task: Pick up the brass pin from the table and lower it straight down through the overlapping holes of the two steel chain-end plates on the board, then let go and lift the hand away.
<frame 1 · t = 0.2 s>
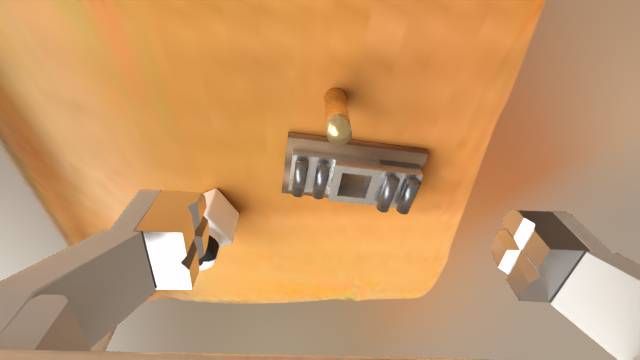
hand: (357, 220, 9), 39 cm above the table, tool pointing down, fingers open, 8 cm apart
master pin: (334, 97, 49), on the table
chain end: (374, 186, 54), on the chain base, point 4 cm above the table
chain base: (351, 168, 57), on the table
medicine bottle: (212, 206, 62), on the table
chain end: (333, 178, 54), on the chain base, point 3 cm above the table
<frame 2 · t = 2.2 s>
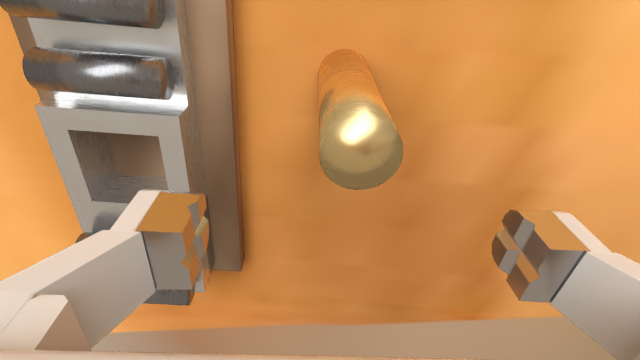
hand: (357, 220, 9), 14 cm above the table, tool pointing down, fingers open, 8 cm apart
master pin: (343, 75, 21), on the table
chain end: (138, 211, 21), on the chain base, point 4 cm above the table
chain base: (155, 135, 23), on the table
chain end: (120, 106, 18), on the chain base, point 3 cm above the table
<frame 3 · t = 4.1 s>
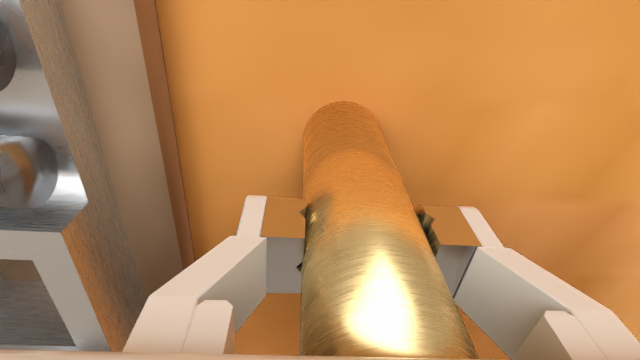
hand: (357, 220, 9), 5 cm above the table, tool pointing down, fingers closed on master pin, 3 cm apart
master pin: (341, 138, 14), on the table, touching gripper
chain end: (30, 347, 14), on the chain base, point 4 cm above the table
chain base: (65, 221, 15), on the table
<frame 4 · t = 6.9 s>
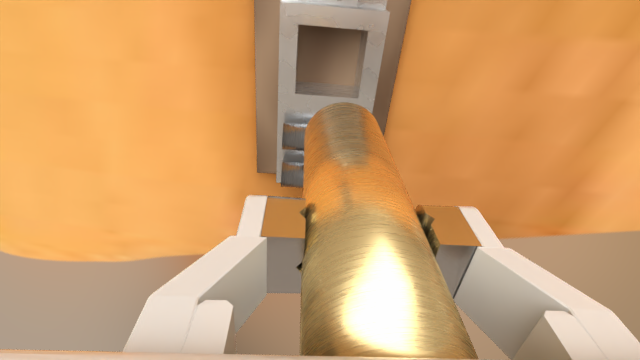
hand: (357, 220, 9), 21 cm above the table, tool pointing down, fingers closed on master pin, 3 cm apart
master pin: (342, 138, 14), point 16 cm above the table, touching gripper
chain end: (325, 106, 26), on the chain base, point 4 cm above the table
chain base: (327, 49, 27), on the table
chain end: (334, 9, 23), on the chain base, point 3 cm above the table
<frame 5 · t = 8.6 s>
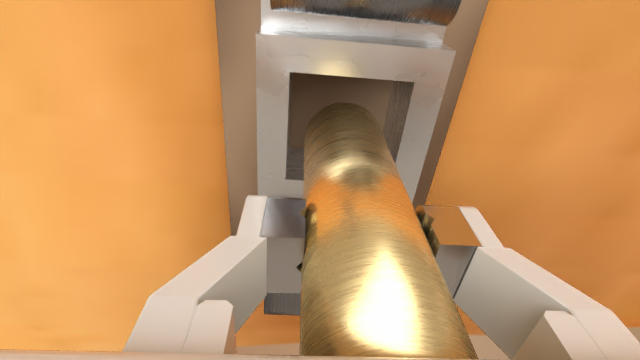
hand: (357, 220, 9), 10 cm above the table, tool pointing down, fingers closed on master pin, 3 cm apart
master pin: (342, 138, 14), point 5 cm above the table, touching gripper
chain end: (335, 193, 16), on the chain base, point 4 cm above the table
chain base: (337, 96, 17), on the table
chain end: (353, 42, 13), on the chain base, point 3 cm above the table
when the fingers open (7 cm above the table, at t = 10.0 s): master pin stays where it is, resting on chain base.
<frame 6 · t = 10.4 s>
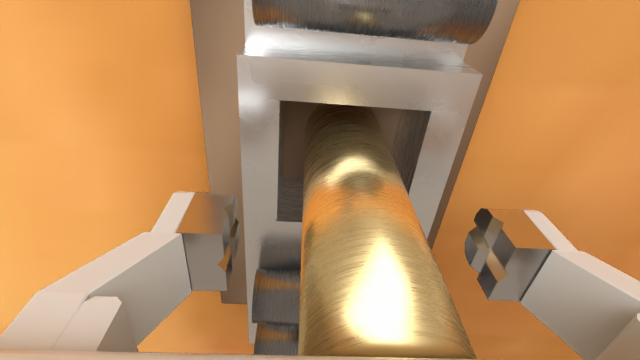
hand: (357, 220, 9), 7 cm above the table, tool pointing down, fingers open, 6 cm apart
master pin: (341, 133, 14), point 2 cm above the table, touching chain base
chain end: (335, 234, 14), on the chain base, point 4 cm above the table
chain base: (337, 119, 15), on the table
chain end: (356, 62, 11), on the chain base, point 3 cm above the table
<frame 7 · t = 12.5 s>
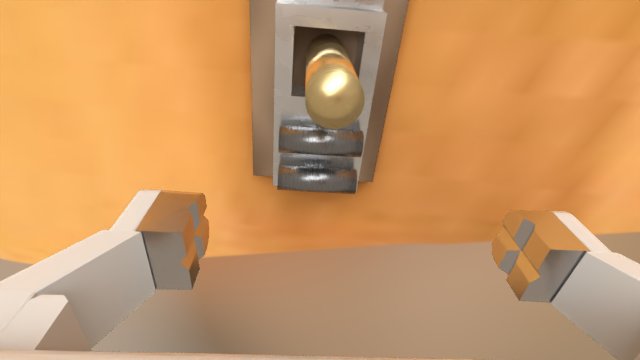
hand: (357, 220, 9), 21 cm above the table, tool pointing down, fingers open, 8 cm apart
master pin: (325, 55, 26), point 2 cm above the table, touching chain base
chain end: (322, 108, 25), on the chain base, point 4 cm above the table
chain base: (324, 50, 27), on the table
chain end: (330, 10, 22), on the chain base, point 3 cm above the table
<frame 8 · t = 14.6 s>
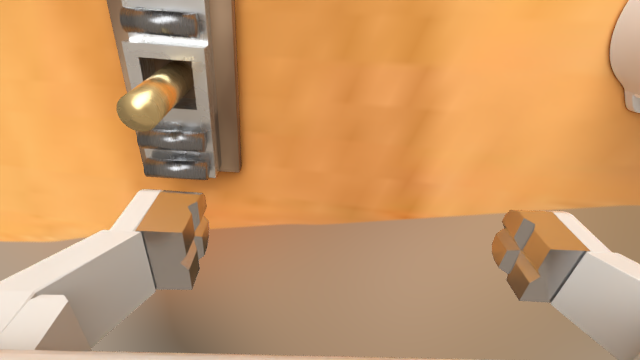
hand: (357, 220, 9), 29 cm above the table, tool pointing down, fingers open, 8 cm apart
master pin: (180, 75, 34), point 2 cm above the table, touching chain base
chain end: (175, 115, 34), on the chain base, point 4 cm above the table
chain base: (183, 71, 35), on the table
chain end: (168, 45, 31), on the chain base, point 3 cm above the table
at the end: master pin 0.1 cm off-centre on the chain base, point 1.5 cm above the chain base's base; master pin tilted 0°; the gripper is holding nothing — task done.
